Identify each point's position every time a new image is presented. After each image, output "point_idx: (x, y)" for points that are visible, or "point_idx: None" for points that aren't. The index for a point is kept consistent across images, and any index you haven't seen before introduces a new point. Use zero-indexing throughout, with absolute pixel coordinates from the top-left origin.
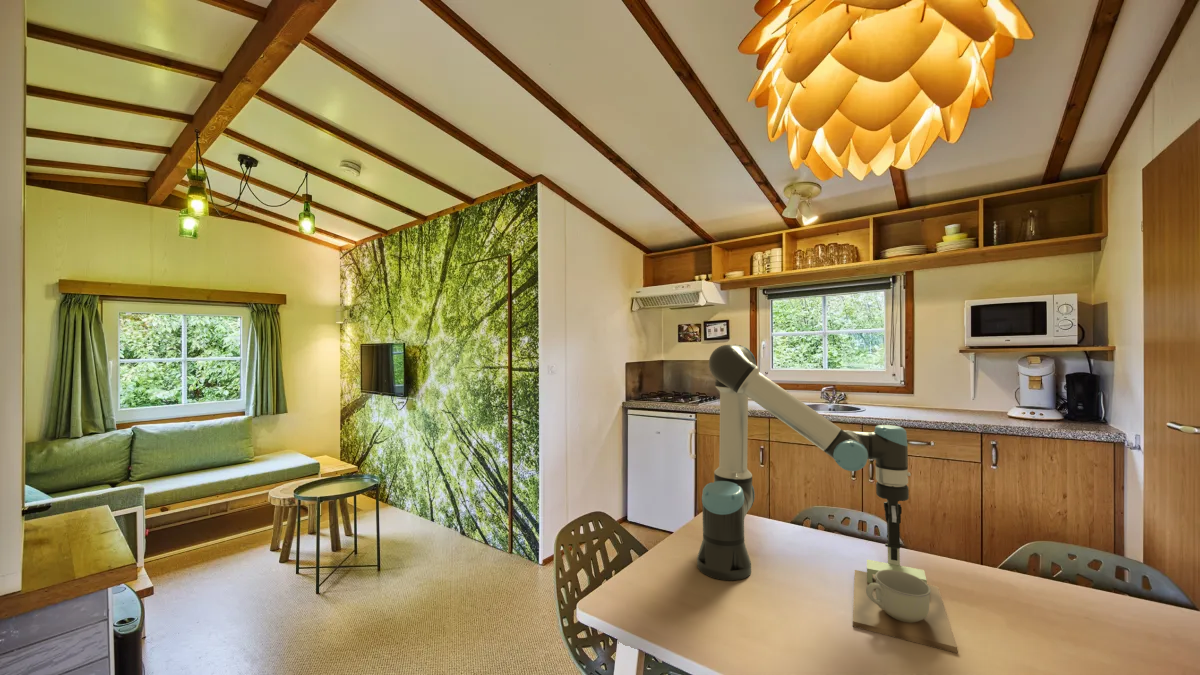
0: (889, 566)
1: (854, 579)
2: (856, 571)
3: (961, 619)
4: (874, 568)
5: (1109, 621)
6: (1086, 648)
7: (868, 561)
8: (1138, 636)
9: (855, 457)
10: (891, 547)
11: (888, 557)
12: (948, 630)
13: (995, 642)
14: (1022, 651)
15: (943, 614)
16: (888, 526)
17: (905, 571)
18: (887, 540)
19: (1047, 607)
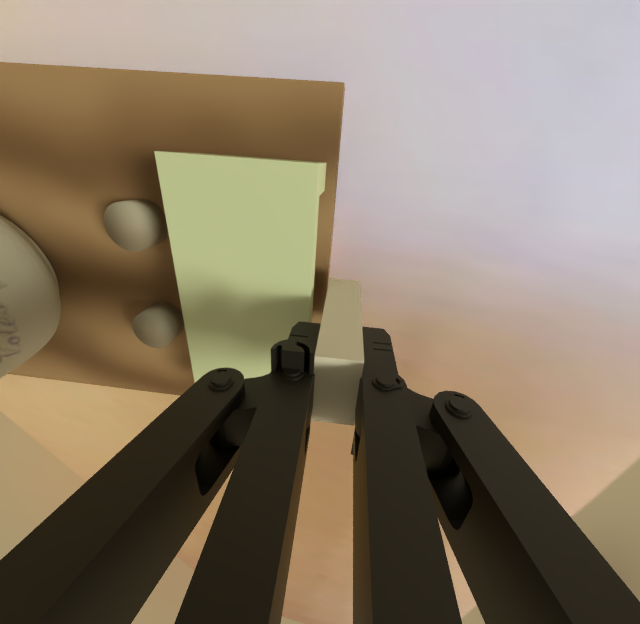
0: (265, 293)
1: (197, 74)
2: (323, 94)
3: (164, 407)
4: (184, 203)
5: (323, 591)
6: (194, 537)
7: (281, 173)
8: (286, 595)
9: None
10: (260, 379)
11: (323, 312)
12: (28, 369)
13: (100, 435)
14: (102, 463)
15: (117, 380)
16: (179, 617)
17: (242, 355)
18: (380, 383)
19: (338, 551)
